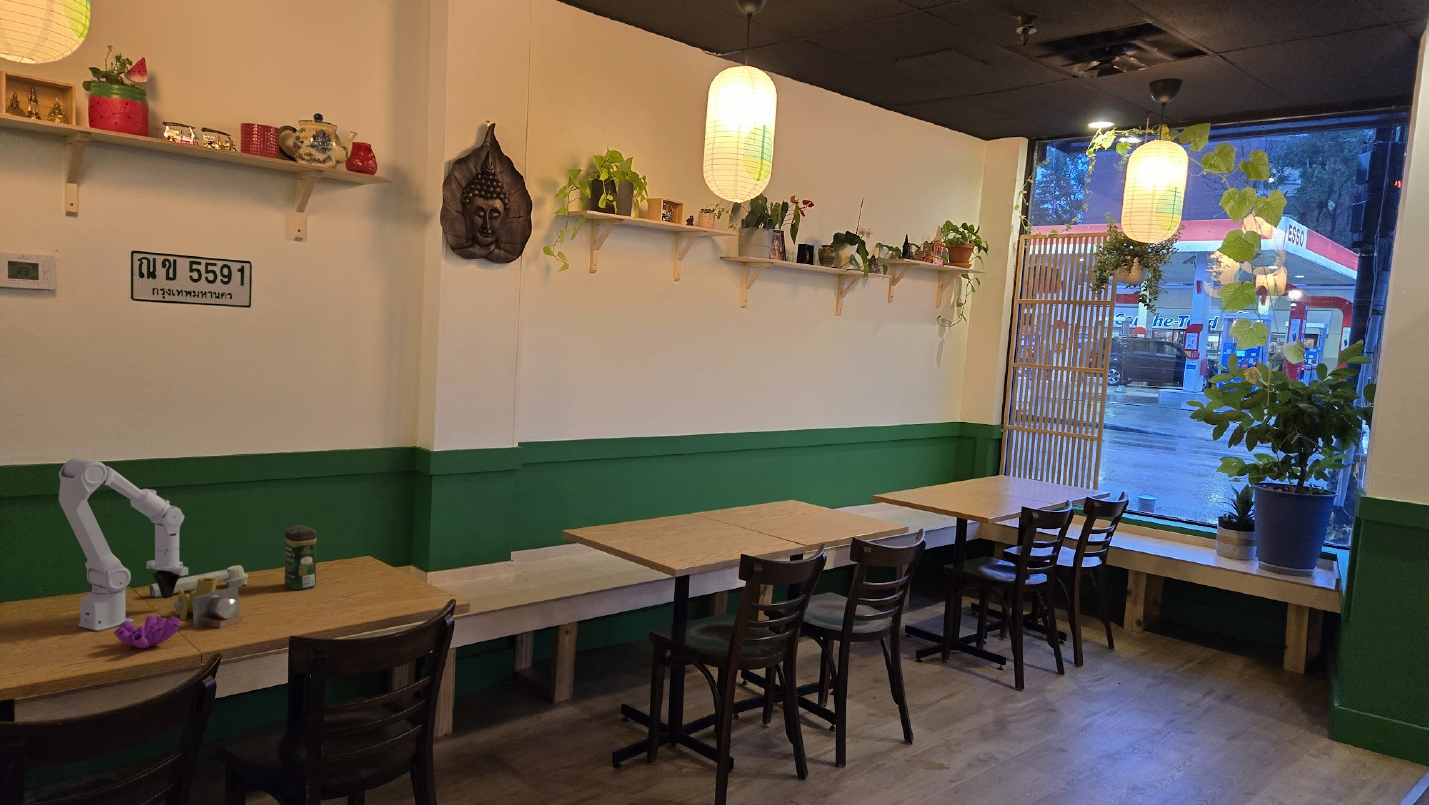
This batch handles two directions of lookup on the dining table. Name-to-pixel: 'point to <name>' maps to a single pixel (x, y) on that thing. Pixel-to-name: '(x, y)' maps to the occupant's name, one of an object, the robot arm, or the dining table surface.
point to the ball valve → (186, 600)
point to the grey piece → (230, 576)
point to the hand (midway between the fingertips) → (167, 597)
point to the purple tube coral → (147, 631)
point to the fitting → (217, 608)
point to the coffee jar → (300, 557)
